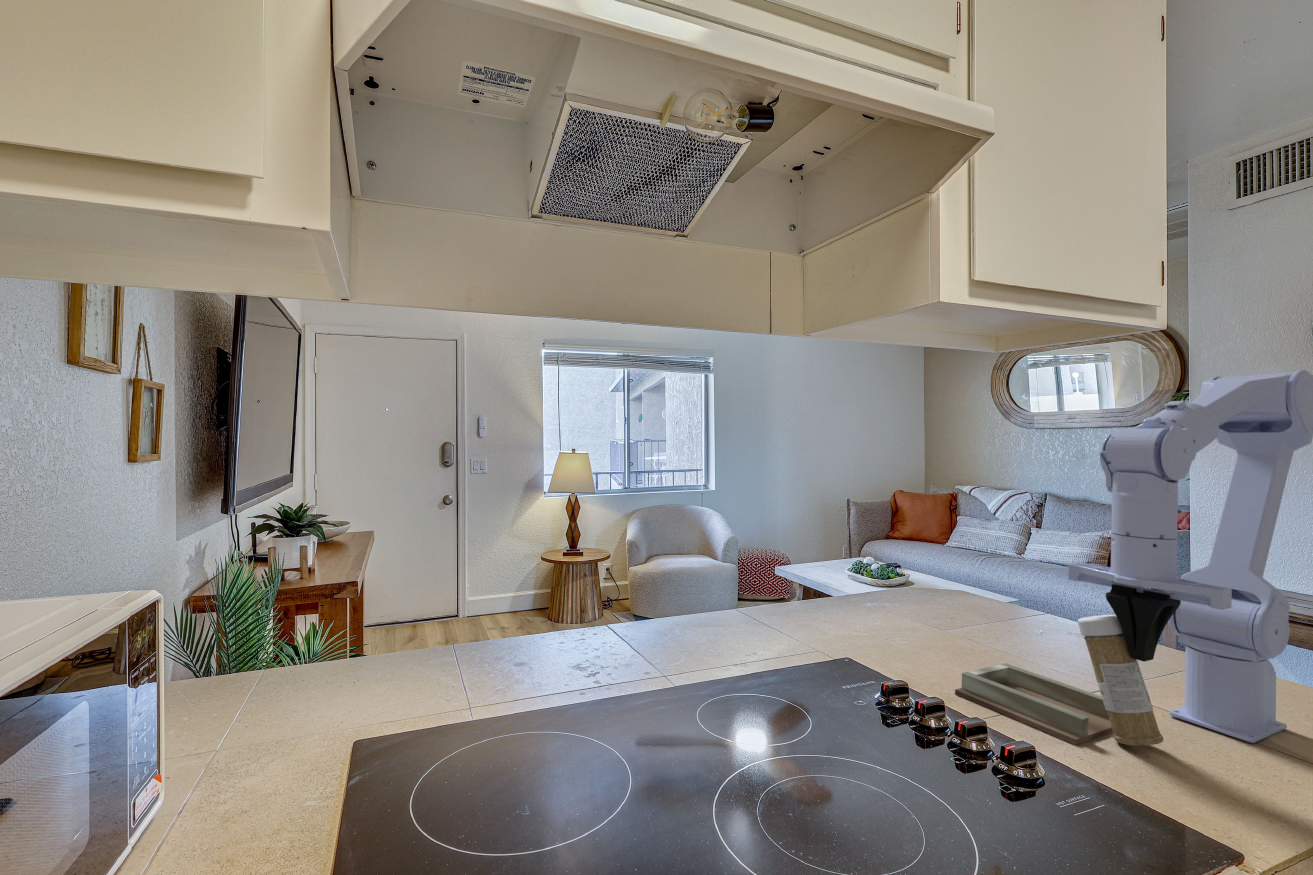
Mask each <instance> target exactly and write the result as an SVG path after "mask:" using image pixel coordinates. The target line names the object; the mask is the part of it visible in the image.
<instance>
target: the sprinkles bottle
mask: <svg viewBox="0 0 1313 875" xmlns="http://www.w3.org/2000/svg"><path fill="white" fill-rule="evenodd" d="M1077 624H1078V627H1079V631H1080V634H1081V635H1082V636H1083V639H1084V641H1085V644H1086V647H1087V650H1088V654H1089V657H1090V660H1091V664H1092V668H1093V672H1094V676H1095V679H1096V682H1097V686H1098V689H1099V692H1100V696H1102V699H1103V702H1104V706H1105V709H1106V710H1107V713H1108V716H1109V719H1110V722H1111V726H1112V729H1113V732H1112V733H1113V740H1115V741H1116V742H1117V743H1119V744H1122V745H1126V746H1130V745H1131V746H1154V745H1159V744H1161V743H1163V742H1164V737H1163V734H1162V733H1161V731H1160V729H1159V726H1158V723H1157V720H1156V716H1155V714H1154V707H1153V704H1152V701H1151V698H1150V695H1149V693H1148V689H1147V686H1146V683H1145V680H1144V678H1143V674H1142V671H1141V668H1140V666H1139V665H1140V664H1139V662H1138V661H1139V660H1137V659H1133V658H1130V654H1129V650H1128V646H1127V642H1126V639H1125V636H1124V633H1123V630H1122V627H1121V625H1120V623H1119V620H1118V618H1117V616H1116V614H1100V615H1090V616H1085V617H1081V618H1079V619H1077Z"/></svg>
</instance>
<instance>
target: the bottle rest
mask: <svg viewBox="0 0 1313 875" xmlns="http://www.w3.org/2000/svg"><path fill="white" fill-rule="evenodd" d="M954 694H955V695H956V696H959V697H961V698H963V699H966V700H968V701H971V702H973V703H976V704H978V705H979V706H983V708H987V709H989V710H992V711H994V712H996V713H999V714H1002V715H1003V716H1006V717H1008V718H1010V719H1013V720H1015V721H1018V722H1021V723H1023V724H1025V725H1027V726H1029V727H1032V728H1034V729H1037V730H1039V731H1041V732H1044V733H1045V734H1049V735H1051V736H1053V737H1056V738H1058V739H1060V740H1062V741H1065V742H1068V743H1070V744H1072V745H1074V746H1076V745H1081V744H1083V743H1085V742H1088V741H1092V740H1094V739H1096V738H1100V737H1103V736H1105V735H1108V734H1111V733H1114V732H1113V729H1112V726H1111V722H1110V719H1109V716H1108V713H1107V710H1106V709H1105V706H1104V702H1103V699H1102V696H1101V694H1100V695H1099V694H1096V693H1094V692H1090V691H1088V690H1085V689H1081V688H1079V687H1076V686H1073V685H1070V684H1068V683H1064V682H1061V681H1059V680H1056V679H1052V678H1050V677H1047V676H1043V675H1040V674H1038V673H1036V672H1033V671H1029V670H1028V669H1027V670H1026V669H1023V668H1021V667H1018V666H1015V665H1013V664H1009V663H1001V664H996V665H992V666H988V667H982V668H978V669H974V670H970V671H966V672H965V671H964V672H961V687H960V688H956V689H954Z"/></svg>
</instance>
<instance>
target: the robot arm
mask: <svg viewBox="0 0 1313 875" xmlns="http://www.w3.org/2000/svg"><path fill="white" fill-rule="evenodd" d="M1201 383H1202V384H1201V388H1200V393H1199V394H1200V395H1199V396H1198V397H1196V398H1195V399H1193V401H1191V402H1187V401H1185V400H1172V401H1169V402H1166V403H1165V404H1164V409H1162V410H1161V411H1159V412H1158V413H1156V414H1154V415H1152V416H1148V417H1146V418H1144V419H1143V420H1142V422H1141V423H1140V424H1139V425H1137V426H1135V427H1134V428H1118V429H1116V430H1115V431H1114V432H1112V433H1109V434H1108V435H1107V436H1106V437H1105V439H1104V441H1103V442H1102V446H1101V451H1099V460H1100V461H1099V462H1100V466H1101V469H1102V470H1103V472H1104V474H1105V487H1106V488H1107V489H1106V490H1107V492H1109V493H1111V523H1110V524H1111V525H1110V527H1111V528H1110V532H1111V535H1110V536H1111V537H1110V545H1111V546H1110V566H1101V565H1095V564H1088V563H1087V564H1086V563H1082V562H1081V563H1080V562H1074V563H1069V564H1068V574H1067V577H1068V578H1067V580H1069V581H1073V582H1085V583H1089V584H1095V585H1099V586H1100V585H1101V586H1106V587H1109V588H1111V589H1110V591H1108V592H1106V593H1105V599H1106V601H1107V602H1108V604H1109V606H1110V608H1111V609H1112V611H1113V613H1114V615H1116V616H1117V618H1118V620H1119V623H1120V625H1121V627H1122V630H1123V633H1124V636H1125V639H1126V642H1127V646H1128V650H1129V654H1130V658H1133V659H1136V660H1137V661H1140V662H1148V661H1149V662H1150V661H1152V660H1154V658H1155V654H1156V649H1157V646H1158V643H1159V641H1160V638H1161V636H1162V634H1163V631H1164V629H1165V628H1166V625H1167V624H1168V625H1169V627H1170V629H1171V631H1172V632H1173V634H1174V635H1175V636H1178V642H1179V643H1180V644H1184V645H1185V652H1184V653H1185V658H1184V659H1185V660H1184V664H1185V665H1184V666H1185V667H1184V705H1183V706H1179V707H1177V708H1174V709H1171V710H1169V712H1168V714H1169V715H1170V716H1172V717H1174V718H1176V719H1180V720H1182V721H1186V722H1187V723H1188V722H1189V723H1192V724H1194V725H1197V726H1200V727H1203V728H1207V729H1209V730H1212V731H1215V732H1218V733H1222V734H1224V735H1227V736H1230V737H1233V738H1236V739H1239V740H1241V741H1246V742H1248V743H1253V744H1255V743H1256V742H1259V741H1261V740H1263V739H1266V738H1267V737H1268V738H1269V737H1270V736H1272V735H1274V734H1276V733H1279V732H1281V731H1283V730H1285V729H1287V728H1288V727H1287V724H1286V723H1284V722H1281V721H1277V708H1276V707H1277V673H1276V669H1275V668H1274V666H1273V664H1272V663H1271V661H1270V660H1271V659H1274V658H1276V657H1278V656H1279V655H1282V653H1283V652H1284V651H1285V650H1286V648H1287V645H1288V643H1289V637H1290V622H1289V619H1290V616H1289V615H1290V608H1291V606H1290V602H1289V601H1288V599H1287V597H1286V596H1285V594H1283V593H1282V592H1281V591H1280V590H1279V589H1278V588H1276V586H1274V585H1273V584H1272V583H1270V582H1269V581H1268V580H1266V579H1265V578H1264V577H1263V576H1264V574H1265V573H1264V572H1265V570H1266V569H1265V568H1266V566H1267V560H1268V557H1269V553H1270V550H1271V549H1270V548H1271V544H1272V541H1273V535H1274V532H1275V529H1276V525H1277V519H1278V516H1279V513H1280V512H1279V511H1280V507H1281V503H1282V499H1283V495H1284V492H1285V487H1286V484H1287V483H1286V482H1287V478H1288V475H1289V471H1290V468H1291V464H1292V460H1293V456H1294V453H1295V451H1297V450H1299V449H1301V448H1304V447H1306V446H1308V445H1310V444H1312V441H1313V374H1312V373H1310V372H1309V371H1308V370H1307V369H1306V370H1305V369H1300V370H1299V369H1298V370H1296V371H1293V372H1292V371H1289V372H1275V373H1263V374H1249V375H1236V376H1235V375H1233V376H1225V377H1222V376H1212V377H1210V378H1209V379H1207V380H1205V381H1203V382H1201ZM1215 440H1217V442H1218V444H1220V445H1222V446H1224V447H1227V448H1230V449H1231V450H1234V451H1236V452H1235V453H1236V459H1235V462H1234V463H1235V464H1234V466H1233V470H1232V474H1231V478H1230V481H1229V485H1228V489H1227V492H1226V496H1225V501H1224V504H1223V508H1222V512H1221V515H1220V519H1219V524H1218V527H1217V529H1216V533H1215V538H1214V543H1213V546H1212V550H1211V554H1210V557H1209V562H1208V564H1206V565H1204V566H1202V567H1199V568H1197V569H1193V570H1191V571H1189V572H1185V573H1184V574H1182V575H1181V577H1178V576H1177V575H1178V573H1177V572H1178V513H1179V512H1178V511H1179V510H1178V509H1179V508H1178V502H1179V501H1178V500H1179V481H1180V480H1182V479H1185V478H1186V477H1187V475H1188V474H1189V472H1190V469H1191V466H1192V463H1193V462H1194V461H1195V459H1196V456H1197V453H1199V452H1200V451H1202V450H1203V449H1204V448H1206V447H1208V446H1209V445H1210V444H1212V443H1213V442H1214V441H1215Z"/></svg>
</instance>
